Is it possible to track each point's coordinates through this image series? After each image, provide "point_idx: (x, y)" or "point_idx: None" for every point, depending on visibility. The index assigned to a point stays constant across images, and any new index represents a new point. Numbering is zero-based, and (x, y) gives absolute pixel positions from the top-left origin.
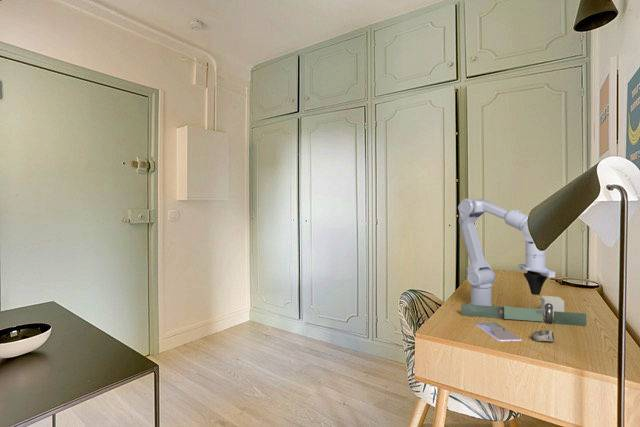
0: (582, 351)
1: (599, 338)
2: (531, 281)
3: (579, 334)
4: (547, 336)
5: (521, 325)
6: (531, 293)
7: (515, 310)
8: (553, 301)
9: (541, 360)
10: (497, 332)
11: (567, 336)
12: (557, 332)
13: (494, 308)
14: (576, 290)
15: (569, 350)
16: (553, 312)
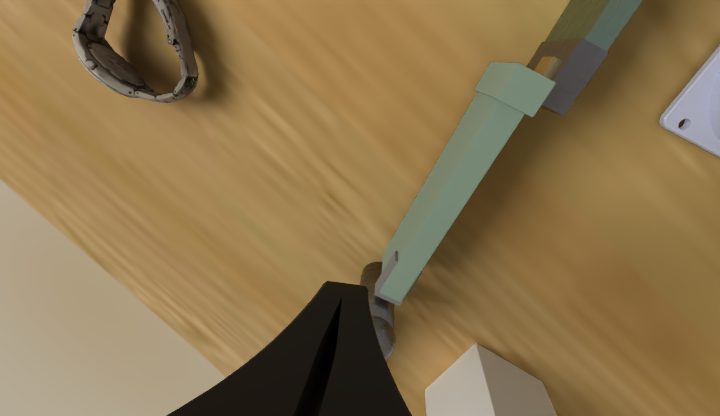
0: (39, 119)
1: (184, 304)
2: (280, 389)
3: (227, 274)
4: (81, 24)
5: (376, 102)
6: (364, 288)
7: (465, 144)
8: None
9: None
10: None
11: (205, 207)
12: (255, 207)
13: (594, 14)
14: None
15: (40, 68)
16: (454, 381)
